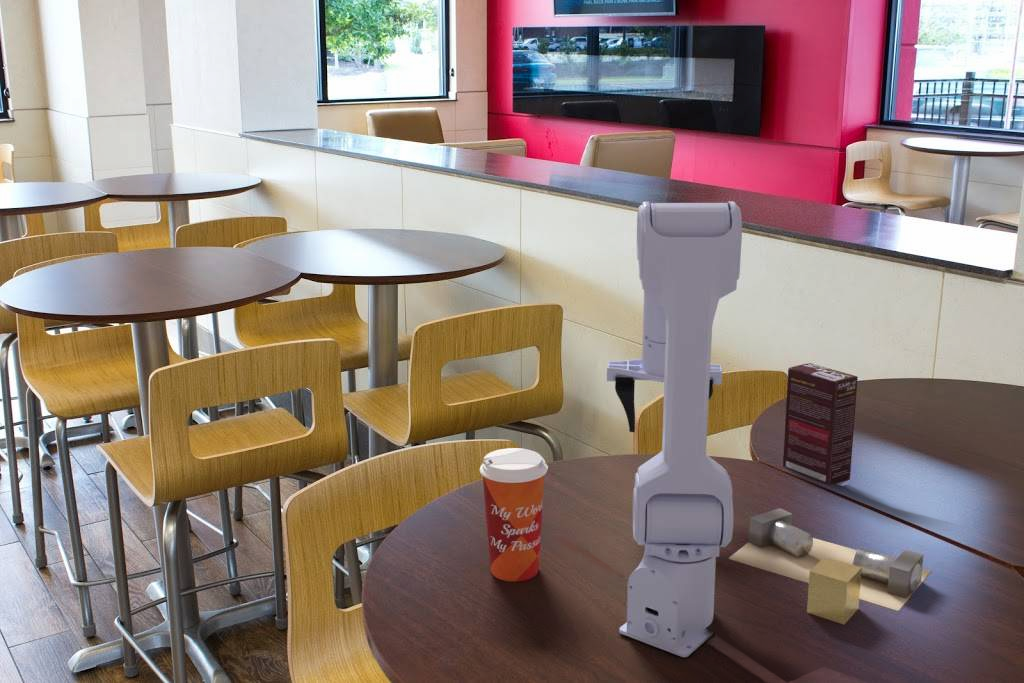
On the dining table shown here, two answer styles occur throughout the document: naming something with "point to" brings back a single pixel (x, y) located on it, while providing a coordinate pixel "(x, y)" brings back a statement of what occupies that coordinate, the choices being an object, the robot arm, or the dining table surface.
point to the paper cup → (514, 511)
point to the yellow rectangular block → (834, 590)
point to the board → (797, 568)
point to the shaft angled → (790, 538)
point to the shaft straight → (881, 566)
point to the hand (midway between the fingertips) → (661, 429)
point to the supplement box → (820, 422)
